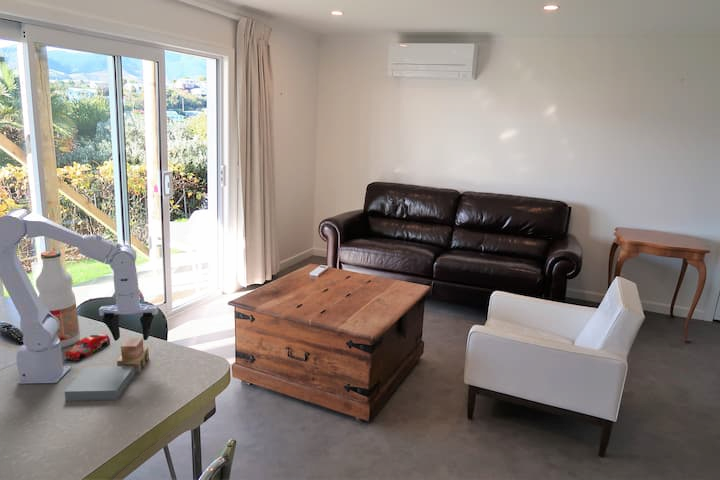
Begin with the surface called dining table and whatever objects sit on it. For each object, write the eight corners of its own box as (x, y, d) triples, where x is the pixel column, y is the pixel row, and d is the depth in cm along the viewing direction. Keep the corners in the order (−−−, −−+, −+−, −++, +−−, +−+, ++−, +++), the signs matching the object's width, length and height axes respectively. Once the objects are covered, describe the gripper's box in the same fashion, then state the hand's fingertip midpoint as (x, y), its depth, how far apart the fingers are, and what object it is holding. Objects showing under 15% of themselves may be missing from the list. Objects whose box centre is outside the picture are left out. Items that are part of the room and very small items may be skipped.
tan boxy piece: (118, 372, 131) (116, 361, 130) (129, 358, 139) (127, 347, 138) (139, 372, 132) (138, 360, 131) (149, 358, 139) (148, 346, 139)
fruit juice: (83, 343, 147) (72, 254, 140) (46, 352, 141) (33, 259, 134) (77, 332, 154) (66, 246, 147) (42, 340, 148) (29, 251, 141)
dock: (65, 400, 118) (64, 391, 117) (88, 375, 130) (87, 366, 129) (117, 399, 119) (116, 390, 118) (135, 374, 131) (134, 365, 130)
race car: (75, 364, 136) (73, 351, 135) (61, 360, 137) (59, 347, 136) (113, 344, 148) (112, 332, 147) (100, 340, 149) (98, 328, 148)
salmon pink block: (121, 358, 132) (120, 346, 131) (128, 349, 137) (127, 338, 136) (137, 358, 132) (136, 346, 131) (143, 349, 137) (142, 337, 136)
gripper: (159, 286, 134) (163, 331, 138) (104, 286, 133) (110, 332, 137) (151, 295, 128) (155, 343, 131) (93, 296, 126) (99, 344, 130)
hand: (131, 338), depth 133 cm, fingers open, 7 cm apart
